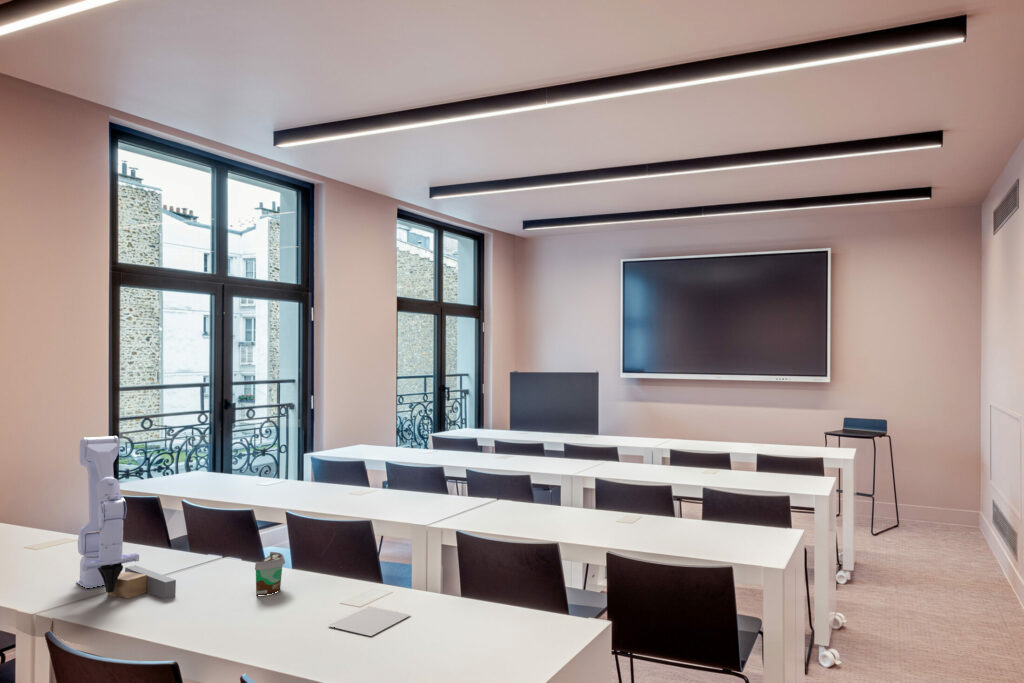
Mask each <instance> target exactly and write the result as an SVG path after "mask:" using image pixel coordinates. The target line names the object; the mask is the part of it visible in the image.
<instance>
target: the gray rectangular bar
mask: <svg viewBox="0 0 1024 683" xmlns="http://www.w3.org/2000/svg"><path fill="white" fill-rule="evenodd" d="M124 572H132V573H138V574H144V575H147V583H146V593H147V594H150V593H151V595H153V596H155V595H156V597H159V599H163V600H168V599H172V598H175V597H176V592H177V590H176V589H177V584H176V582H177V580H176V579H174V578H171V577H170V576H167V575H164V574H161V573H158V572H156V571H153V570H149V569H147V568H144V567H141V566H138V565H134V564H133V565H129V566H126V567H124Z"/></svg>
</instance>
